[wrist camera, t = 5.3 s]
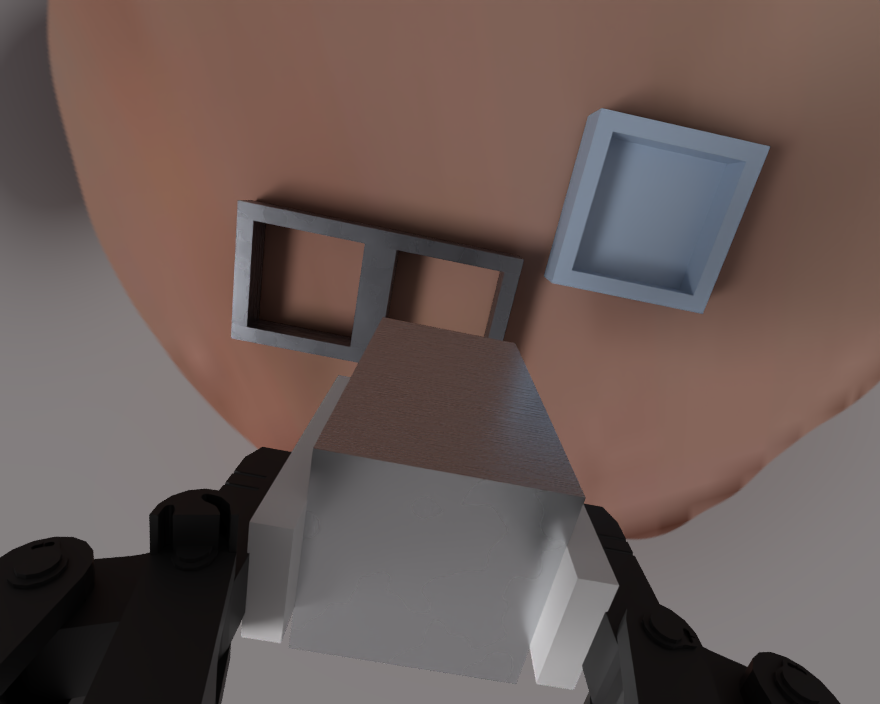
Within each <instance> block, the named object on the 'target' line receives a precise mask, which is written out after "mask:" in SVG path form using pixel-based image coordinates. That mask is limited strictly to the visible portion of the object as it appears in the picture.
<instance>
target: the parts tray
mask: <svg viewBox="0 0 880 704" xmlns="http://www.w3.org/2000/svg"><path fill="white" fill-rule="evenodd" d="M769 149H770V146H766V145H762V144H757V143H753V142H748V141H744V140H740V139H735V138H731V137H726V136H722V135H718V134H713V133H709V132H704V131H700V130H696V129H691V128H687V127H682V126H678V125H674V124H669V123H665V122H660V121H656V120H652V119H647V118H643V117H638V116H634V115H630V114H625V113H621V112H616V111H612V110H608V109H603V108H601V109H599V110H598V111H596V112H594V113H592V114H591V115H589V116H588V119H587V122H586V126H585V129H584V133H583V137H582V140H581V144H580V147H579V151H578V155H577V158H576V162H575V165H574V169H573V173H572V176H571V180H570V183H569V187H568V191H567V194H566V198H565V202H564V205H563V209H562V212H561V216H560V220H559V223H558V227H557V230H556V234H555V238H554V241H553V245H552V248H551V252H550V256H549V259H548V263H547V266H546V270H545V274H544V277H545V278H546V279H548V280H549V281H550V282H551V283H555V284H560V285H565V286H570V287H574V288H579V289H584V290H589V291H594V292H599V293H604V294H609V295H613V296H618V297H623V298H628V299H633V300H638V301H643V302H647V303H652V304H657V305H662V306H667V307H672V308H677V309H682V310H686V311H691V312H696V313H701V314H703V312H704V309H705V307H706V304H707V302H708V300H709V297H710V295H711V292H712V290H713V287H714V285H715V282H716V280H717V277H718V275H719V272H720V270H721V267H722V265H723V262H724V260H725V258H726V255H727V253H728V250H729V248H730V245H731V243H732V240H733V238H734V235H735V233H736V230H737V228H738V225H739V223H740V220H741V218H742V216H743V213H744V211H745V208H746V206H747V203H748V201H749V198H750V196H751V193H752V191H753V188H754V186H755V183H756V181H757V178H758V176H759V174H760V171H761V169H762V166H763V164H764V161H765V159H766V156H767V154H768V151H769Z"/></svg>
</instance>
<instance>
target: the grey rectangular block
mask: <svg viewBox="0 0 880 704" xmlns="http://www.w3.org/2000/svg"><path fill="white" fill-rule="evenodd" d="M584 501H585V495H584V493H583V491H582V489H581V487H580V484H579V482H578V480H577V478H576V476H575V473H574V471H573V469H572V467H571V465H570V462H569V460H568V458H567V456H566V454H565V451H564V449H563V447H562V445H561V443H560V440H559V438H558V436H557V434H556V432H555V429H554V427H553V425H552V423H551V421H550V418H549V416H548V414H547V412H546V410H545V407H544V405H543V403H542V401H541V398H540V396H539V394H538V392H537V390H536V387H535V385H534V383H533V381H532V379H531V376H530V374H529V372H528V370H527V368H526V365H525V363H524V361H523V359H522V357H521V354H520V352H519V350H518V348H517V346H516V343H512V342H507V341H502V340H496V339H491V338H486V337H481V336H476V335H471V334H466V333H461V332H456V331H451V330H446V329H441V328H436V327H431V326H426V325H421V324H416V323H411V322H406V321H400V320H395V319H390V318H385V317H383V318H382V320H381V321H380V323H379V325H378V327H377V329H376V331H375V333H374V335H373V336H372V338H371V340H370V342H369V344H368V346H367V348H366V350H365V351H364V353H363V355H362V357H361V359H360V361H359V363H358V365H357V367H356V368H355V370H354V372H353V374H352V376H351V378H350V380H349V382H348V383H347V385H346V387H345V389H344V391H343V393H342V395H341V397H340V398H339V400H338V402H337V404H336V406H335V408H334V410H333V412H332V413H331V415H330V417H329V419H328V421H327V423H326V425H325V427H324V428H323V430H322V432H321V434H320V436H319V438H318V440H317V442H316V443H315V445H314V447H313V452H312V460H311V469H310V477H309V485H308V493H307V508H306V516H305V524H304V532H303V540H302V548H301V557H300V565H299V573H298V581H297V589H296V598H295V606H294V610H293V617H292V625H291V633H290V641H289V648H292V649H299V650H305V651H311V652H317V653H324V654H330V655H337V656H342V657H349V658H355V659H361V660H368V661H374V662H380V663H387V664H393V665H399V666H405V667H411V668H418V669H425V670H430V671H437V672H443V673H450V674H456V675H462V676H469V677H474V678H481V679H487V680H493V681H500V682H506V683H512V684H516V683H517V681H518V678H519V675H520V673H521V670H522V667H523V665H524V662H525V659H526V656H527V654H528V651H529V648H530V643H531V641H532V638H533V635H534V633H535V630H536V627H537V625H538V622H539V619H540V617H541V614H542V611H543V608H544V606H545V603H546V600H547V598H548V595H549V592H550V590H551V587H552V584H553V581H554V579H555V576H556V573H557V571H558V568H559V565H560V563H561V560H562V557H563V554H564V552H565V549H566V546H568V544H569V541H570V538H571V536H572V533H573V530H574V527H575V525H576V522H577V519H578V517H579V514H580V511H581V509H582V506H583V503H584Z"/></svg>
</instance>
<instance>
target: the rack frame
mask: <svg viewBox="0 0 880 704" xmlns="http://www.w3.org/2000/svg"><path fill="white" fill-rule="evenodd" d="M265 223H268V224H273V225H278V226H283V227H288V228H293V229H297V230H302V231H307V232H312V233H317V234H322V235H327V236H331V237H336V238H341V239H346V240H351V241H356V242H361V243H365V247H364V254H363V261H362V268H361V275H360V282H359V289H358V296H357V304H356V311H355V318H354V325H353V332H352V337H346V336H341V335H336V334H331V333H326V332H321V331H316V330H310V329H305V328H300V327H295V326H290V325H285V324H280V323H274V322H269V321H264V320H259V308H260V294H261V279H262V265H263V251H264V237H265ZM399 250H400V251H404V252H409V253H414V254H419V255H424V256H429V257H434V258H438V259H443V260H448V261H453V262H458V263H463V264H468V265H473V266H477V267H482V268H487V269H492V270H497V271H500V274H499V278H498V282H497V286H496V290H495V294H494V298H493V302H492V307H491V311H490V315H489V319H488V323H487V327H486V331H485V335H484V337H486V338H491V339H496V340H502V341H503V338H504V334H505V331H506V327H507V323H508V319H509V315H510V311H511V307H512V304H513V300H514V296H515V292H516V288H517V284H518V280H519V277H520V273H521V269H522V265H523V261H524V259H522V258H521V257H520V256H517V255H513V254H508V253H503V252H498V251H493V250H489V249H484V248H479V247H474V246H469V245H465V244H460V243H455V242H450V241H445V240H440V239H436V238H431V237H426V236H421V235H416V234H412V233H407V232H402V231H397V230H392V229H388V228H383V227H378V226H373V225H368V224H364V223H359V222H354V221H349V220H344V219H339V218H335V217H330V216H325V215H320V214H315V213H311V212H306V211H301V210H296V209H291V208H287V207H282V206H277V205H272V204H267V203H262V202H258V201H253V200H238V211H237V231H236V251H235V271H234V291H233V311H232V331H231V338H233V339H238V340H243V341H248V342H254V343H259V344H264V345H269V346H274V347H280V348H285V349H290V350H295V351H301V352H306V353H311V354H316V355H321V356H327V357H332V358H337V359H342V360H347V361H353V362H358V363H359V361H360V359H361V357H362V355H363V353H364V351H365V350H366V348H367V346H368V344H369V342H370V340H371V338H372V336H373V335H374V333H375V331H376V329H377V327H378V325H379V323H380V321H381V320H382V318H383V317H385V318H388V313H389V307H390V301H391V295H392V289H393V283H394V277H395V271H396V265H397V259H398V253H399Z"/></svg>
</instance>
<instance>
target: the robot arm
mask: <svg viewBox="0 0 880 704" xmlns="http://www.w3.org/2000/svg"><path fill="white" fill-rule="evenodd" d="M350 378H351V377H346V376H341V375H338V377H337V378H336V380H335V382H334V383H333V385H332V387H331V388H330V390H329V392H328V393H327V395H326V397H325V398H324V400H323V402H322V403H321V405H320V406H319V408H318V410H317V411H316V413H315V415H314V416H313V418H312V420H311V421H310V423H309V425H308V426H307V428H306V430H305V431H304V433H303V434H302V436H301V438H300V439H299V441H298V443H297V444H296V446H295V448H294V449H293V451H292V452H288V451H283V450H277V449H271V448H266V447H261V448H260V449H258V450H256V451H255V452H253V453H251V454H249V455H248V456H246V457H245V458H244V459H243V460H242V462H241V463H240V464H239V465H238V467H237V468H236V470H235V471H234V474H232V475H231V476H230V477H229V479H228V480H227V481H226V483H225V485H223V486H222V487H221V489H220V490H219V491H218V490H211V489H197V490H188V491H185V492H182V493H179V494H176V495H173V496H171V497H169V498H167V499H166V500H164V501H162V502H161V503H159V504H158V505H157V506H156V508H155V509H154V510H153V511H152V512H151V513H150V515H149V516H150V517H149V519H150V520H149V521H150V553H146V554H142V555H135V556H126V557H115V558H103V559H94V556H93V550H92V548H91V547H90V546H89V545H88V543H87V542H86V541H83V540H80V539H77V538H74V537H52V538H47V539H42V540H37V541H33V542H30V543H28V544H25V545H23V546H21V547H18V548H16V549H13V550H11V551H10V552H8V553H7V554H5V555H4V556H2V557H0V704H221V701H222V697H223V692H224V687H225V682H226V676H227V671H228V666H229V661H230V649H231V641H232V639H233V636H234V635H235V633H236V631H237V628H238V627H239V625H240V622H241V620H242V632H241V637H246V638H252V639H258V640H264V641H270V642H277V643H281V642H282V639H283V636H284V634H285V631H286V628H287V626H288V623H289V620H290V618H291V615H292V612H293V610H294V606H295V598H296V589H297V581H298V573H299V565H300V557H301V548H302V540H303V532H304V524H305V516H306V508H307V493H308V485H309V477H310V469H311V460H312V452H313V447H314V445H315V443H316V442H317V440H318V438H319V436H320V434H321V432H322V430H323V428H324V427H325V425H326V423H327V421H328V419H329V417H330V415H331V413H332V412H333V410H334V408H335V406H336V404H337V402H338V400H339V398H340V397H341V395H342V393H343V391H344V389H345V387H346V385H347V383H348V382H349V380H350ZM530 651H531V657H532V662H533V668H534V673H535V679H536V684H540V685H546V686H553V687H559V688H565V689H571V690H574V688H575V686H576V683H577V681H578V678H579V677H580V674H581V672H582V670H583V671H584V675H585V678H586V682H587V685H588V689H589V693H588V695H587V697H586V700H585V702H584V704H840V703H839V701H838V700H837V699H836V697H835V696H834V695H833V694H832V693H831V692H830V691H829V690H828V689H827V687H826V686H825V685H824V684H823V683H822V682H821V681H820V680H819V679H817V678H816V677H815V676H814V675H812V674H811V673H810V672H809V671H808V670H806V669H805V668H804V667H802V666H801V665H799V664H797V663H795V662H794V661H792V660H790V659H789V658H787V657H784V656H781V655H778V654H775V653H772V652H760V653H758V654H757V655H756V656H755V657H754V658H753V659H752V661H751V662H750V664H749V666H748V667H746V666H744V665H742V664H739V663H737V662H735V661H733V660H730V659H728V658H726V657H724V656H721V655H719V654H717V653H714V652H712V651H710V650H708V649H706V648H704V647H703V646H702V645H701V642H700V641H699V639H698V637H697V635H696V633H695V632H694V631H693V629H692V628H691V627H690V626H689V625H688V624H687V623H686V621H685V620H683V619H682V618H681V617H679V616H678V615H677V614H676V613H674V612H673V611H672V610H670V609H668V608H666V607H664V606H662V605H660V604H659V602H658V600H657V598H656V596H655V594H654V592H653V590H652V588H651V587H650V584H649V583H648V581H647V579H646V577H645V575H644V573H643V571H642V569H641V567H640V565H639V563H638V561H637V559H636V557H635V556H633V552H632V550H631V548H630V546H629V544H628V542H626V538H625V536H624V534H623V532H622V530H621V528H620V526H619V524H618V523H617V521H616V520H615V519H614V518H613V517H612V516H611V515H610V514H609V513H608V512H607V511H606V510H605V509H604V508H603V507H600V506H594V505H589V504H583V506H582V509H581V511H580V514H579V517H578V519H577V522H576V525H575V527H574V530H573V533H572V536H571V538H570V541H569V544H568V546H566V549H565V552H564V554H563V557H562V560H561V563H560V565H559V568H558V571H557V573H556V576H555V579H554V581H553V584H552V587H551V590H550V592H549V595H548V598H547V600H546V603H545V606H544V608H543V611H542V614H541V617H540V619H539V622H538V625H537V627H536V630H535V633H534V635H533V638H532V641H531V643H530Z"/></svg>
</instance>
